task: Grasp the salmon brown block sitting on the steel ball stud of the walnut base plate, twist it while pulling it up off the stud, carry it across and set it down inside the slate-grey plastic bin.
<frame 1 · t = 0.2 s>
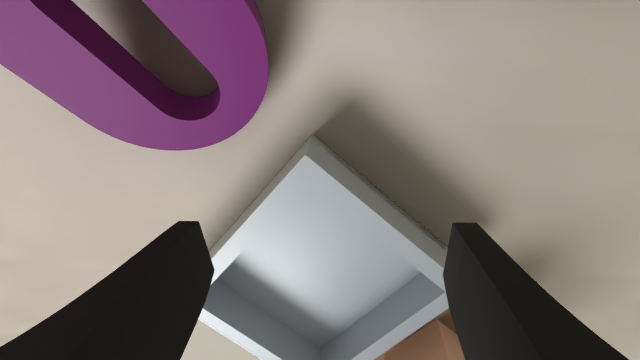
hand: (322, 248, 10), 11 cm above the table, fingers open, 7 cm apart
stud plate: (430, 343, 25), on the table
salmon brown block: (433, 355, 24), point 1 cm above the table, touching stud plate
bin: (318, 260, 23), on the table
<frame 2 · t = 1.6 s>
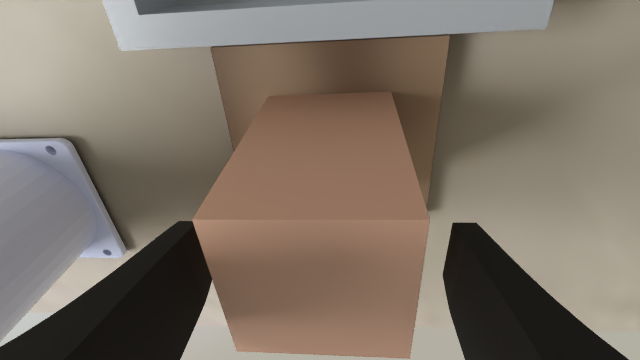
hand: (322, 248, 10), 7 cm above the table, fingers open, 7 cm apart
stud plate: (332, 138, 16), on the table
salmon brown block: (331, 148, 15), point 1 cm above the table, touching stud plate
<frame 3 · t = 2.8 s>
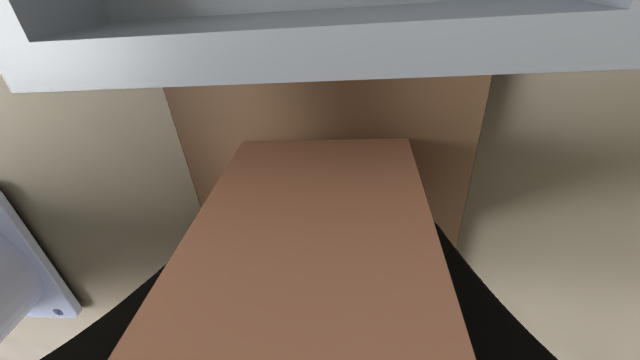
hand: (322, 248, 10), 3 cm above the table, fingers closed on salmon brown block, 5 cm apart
stud plate: (329, 189, 12), on the table
salmon brown block: (327, 206, 11), point 1 cm above the table, touching gripper, stud plate
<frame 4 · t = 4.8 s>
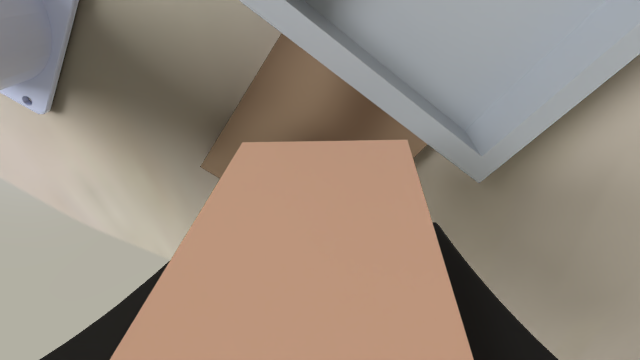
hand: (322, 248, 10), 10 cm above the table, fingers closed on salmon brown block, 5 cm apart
stud plate: (310, 146, 19), on the table
salmon brown block: (326, 207, 12), point 8 cm above the table, touching gripper
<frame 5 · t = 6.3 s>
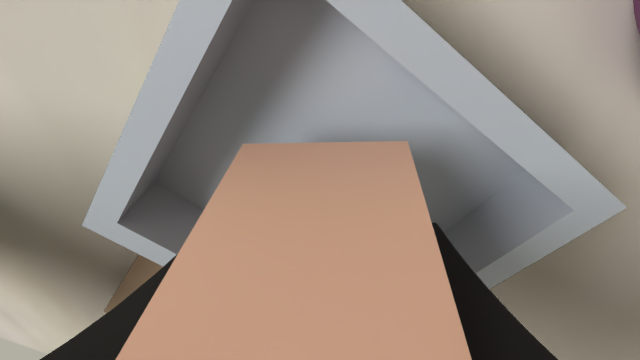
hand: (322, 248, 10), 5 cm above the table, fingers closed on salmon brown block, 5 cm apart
stud plate: (214, 293, 19), on the table
salmon brown block: (327, 207, 12), point 3 cm above the table, touching gripper
bin: (331, 163, 14), on the table
when the fingers open (5 cm above the table, at t = 7.1 s): salmon brown block drops 2 cm, resting on bin.
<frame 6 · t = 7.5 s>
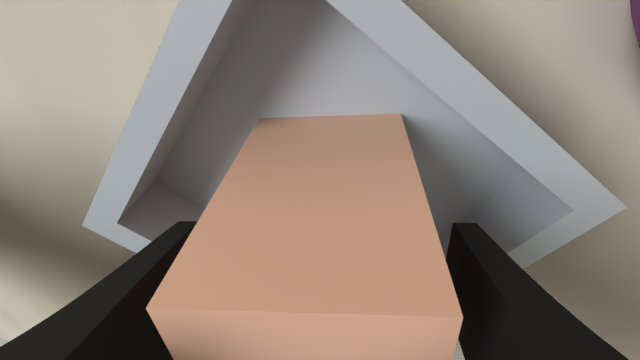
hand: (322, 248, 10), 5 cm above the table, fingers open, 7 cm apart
salmon brown block: (331, 175, 13), point 1 cm above the table, touching bin
bin: (331, 163, 14), on the table
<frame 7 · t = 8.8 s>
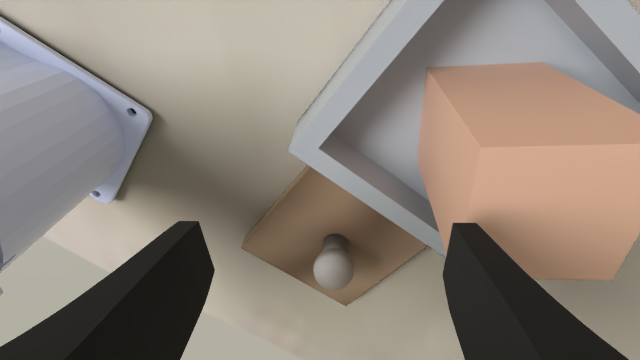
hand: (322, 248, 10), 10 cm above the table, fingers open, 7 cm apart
stud plate: (336, 232, 23), on the table
salmon brown block: (473, 116, 17), point 1 cm above the table, touching bin
bin: (468, 108, 17), on the table
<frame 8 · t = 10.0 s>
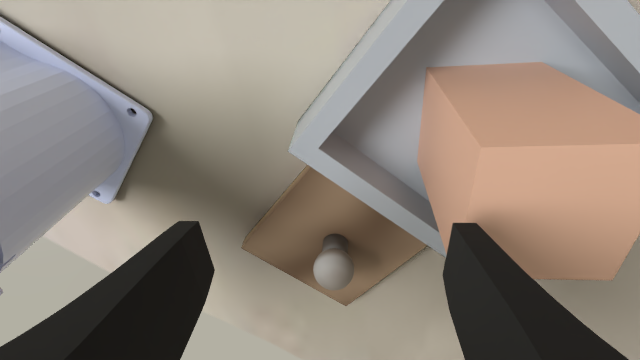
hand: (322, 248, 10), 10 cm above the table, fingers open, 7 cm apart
stud plate: (336, 232, 23), on the table
salmon brown block: (473, 116, 17), point 1 cm above the table, touching bin
bin: (468, 108, 17), on the table
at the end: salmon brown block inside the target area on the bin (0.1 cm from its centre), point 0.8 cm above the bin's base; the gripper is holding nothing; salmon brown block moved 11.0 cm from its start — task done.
